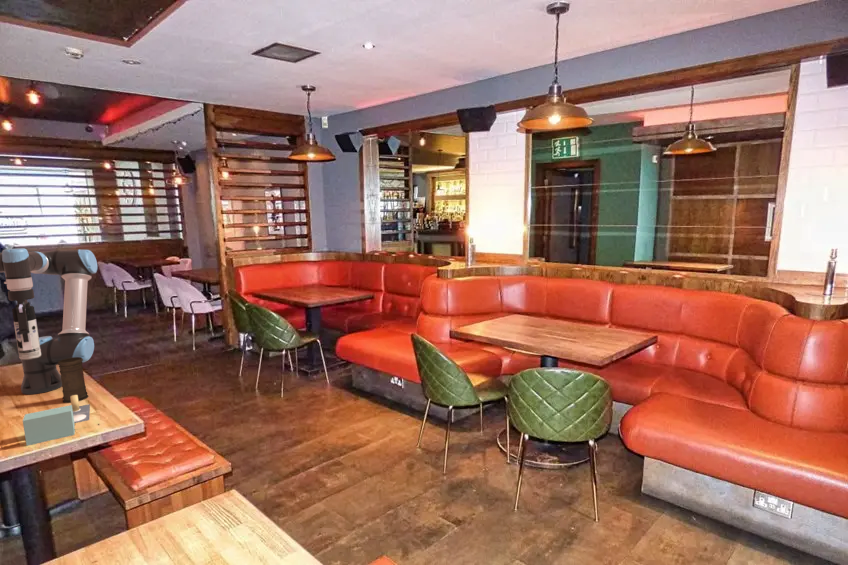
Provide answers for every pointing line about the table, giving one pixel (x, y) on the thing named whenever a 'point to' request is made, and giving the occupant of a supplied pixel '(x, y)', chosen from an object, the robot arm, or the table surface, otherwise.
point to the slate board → (79, 410)
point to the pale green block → (48, 425)
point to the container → (72, 379)
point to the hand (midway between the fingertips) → (29, 347)
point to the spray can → (33, 332)
